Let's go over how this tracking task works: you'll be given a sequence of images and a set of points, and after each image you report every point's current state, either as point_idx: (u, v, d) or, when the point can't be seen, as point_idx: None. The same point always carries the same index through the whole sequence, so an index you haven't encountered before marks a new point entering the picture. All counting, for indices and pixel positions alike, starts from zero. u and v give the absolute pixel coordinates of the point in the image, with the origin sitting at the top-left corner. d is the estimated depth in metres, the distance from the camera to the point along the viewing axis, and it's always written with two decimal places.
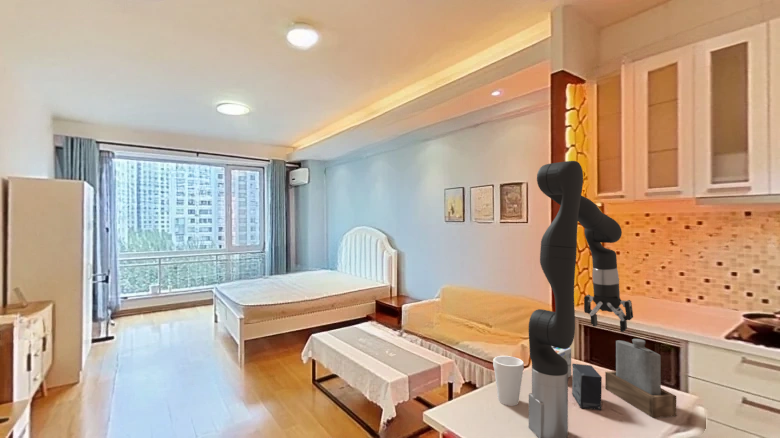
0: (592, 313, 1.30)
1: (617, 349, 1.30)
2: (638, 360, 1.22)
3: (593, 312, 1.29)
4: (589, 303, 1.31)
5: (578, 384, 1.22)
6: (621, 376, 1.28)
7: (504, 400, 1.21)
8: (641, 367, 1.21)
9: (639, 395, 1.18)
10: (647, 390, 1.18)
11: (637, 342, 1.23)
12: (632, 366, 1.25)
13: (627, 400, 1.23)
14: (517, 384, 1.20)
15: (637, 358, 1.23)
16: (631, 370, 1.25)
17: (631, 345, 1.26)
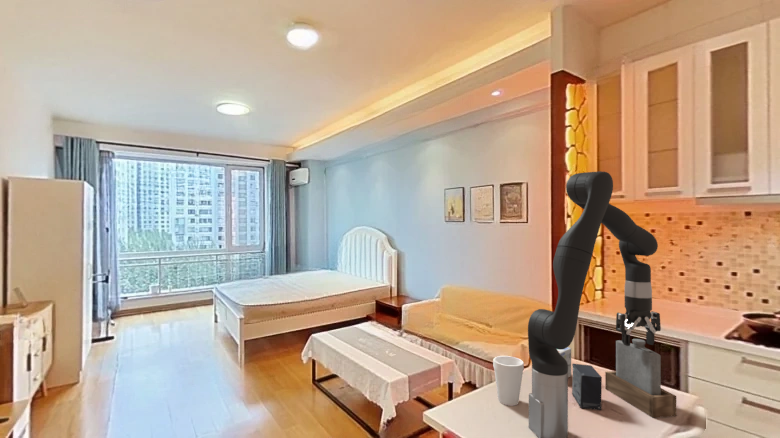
0: (629, 331, 1.22)
1: (617, 349, 1.30)
2: (638, 360, 1.22)
3: (629, 330, 1.22)
4: None
5: (578, 384, 1.22)
6: (621, 376, 1.28)
7: (504, 400, 1.21)
8: (641, 367, 1.21)
9: (639, 395, 1.18)
10: (647, 390, 1.18)
11: (637, 342, 1.23)
12: (632, 366, 1.25)
13: (627, 400, 1.23)
14: (517, 384, 1.20)
15: (637, 358, 1.23)
16: (631, 370, 1.25)
17: (631, 345, 1.26)
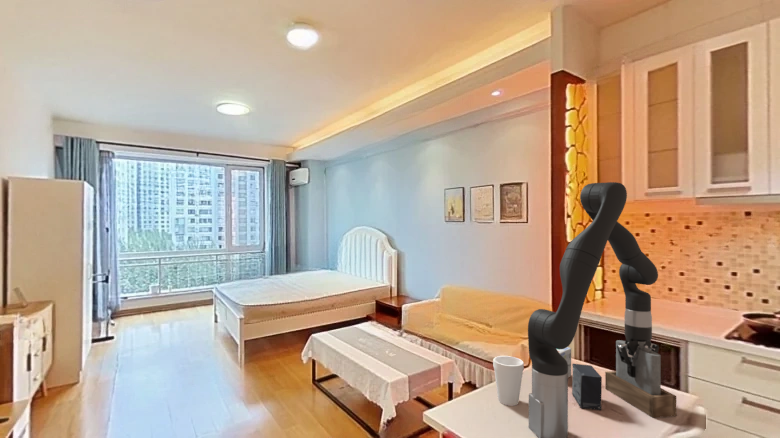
0: (634, 363, 1.23)
1: (617, 349, 1.30)
2: (638, 360, 1.22)
3: (635, 362, 1.23)
4: None
5: (578, 384, 1.22)
6: (621, 376, 1.29)
7: (504, 400, 1.21)
8: (641, 366, 1.21)
9: (639, 395, 1.18)
10: (647, 390, 1.19)
11: None
12: None
13: (627, 400, 1.23)
14: (517, 384, 1.20)
15: None
16: None
17: None
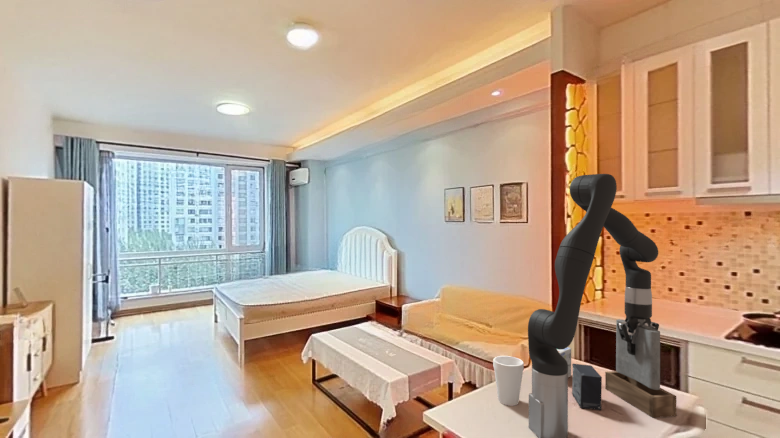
0: (633, 340, 1.23)
1: (617, 328, 1.30)
2: (638, 338, 1.22)
3: (635, 339, 1.23)
4: None
5: (578, 384, 1.22)
6: (621, 354, 1.29)
7: (504, 400, 1.21)
8: (640, 344, 1.21)
9: (639, 395, 1.18)
10: (646, 367, 1.19)
11: None
12: None
13: (627, 400, 1.23)
14: (517, 384, 1.20)
15: None
16: None
17: None
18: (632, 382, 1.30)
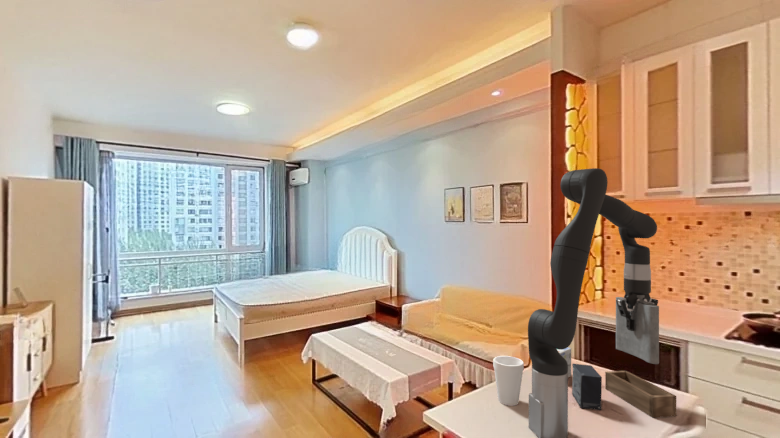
0: (633, 316, 1.23)
1: None
2: (637, 314, 1.23)
3: (634, 315, 1.23)
4: None
5: (578, 384, 1.22)
6: (620, 331, 1.29)
7: (504, 400, 1.21)
8: (639, 319, 1.22)
9: (639, 395, 1.18)
10: (645, 341, 1.19)
11: None
12: None
13: (627, 400, 1.23)
14: (517, 384, 1.20)
15: None
16: None
17: None
18: (632, 382, 1.30)
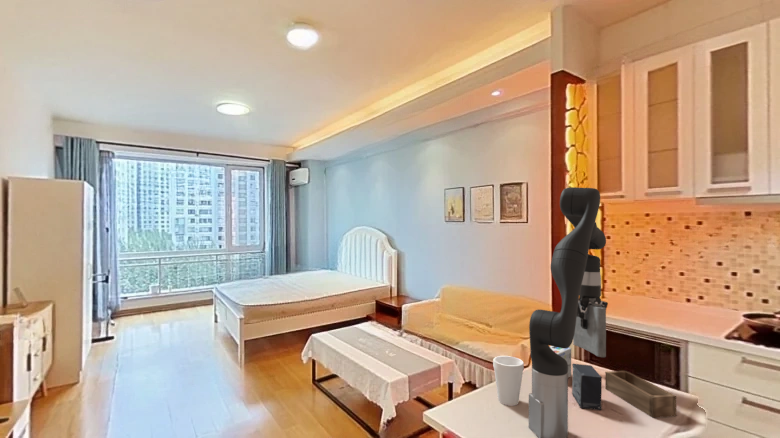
0: (585, 316, 1.43)
1: None
2: (589, 314, 1.43)
3: (586, 316, 1.43)
4: None
5: (578, 384, 1.22)
6: (577, 329, 1.49)
7: (504, 400, 1.21)
8: (591, 319, 1.42)
9: (639, 395, 1.18)
10: (595, 338, 1.39)
11: None
12: None
13: (627, 400, 1.23)
14: (517, 384, 1.20)
15: None
16: None
17: None
18: (632, 382, 1.30)
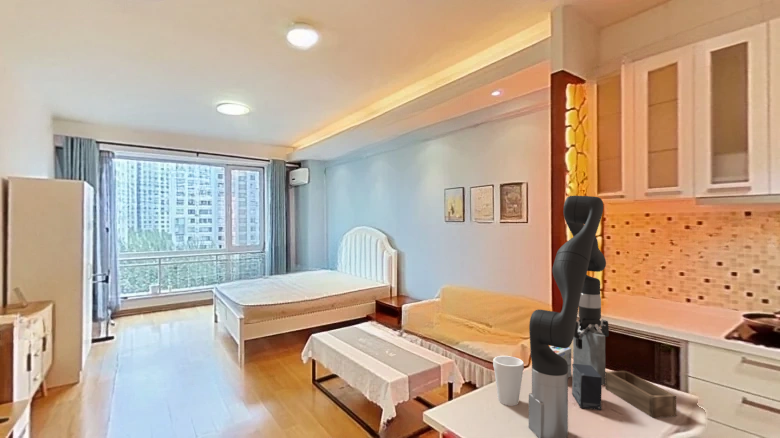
0: (581, 337, 1.43)
1: None
2: (589, 341, 1.43)
3: (582, 335, 1.43)
4: None
5: (578, 384, 1.22)
6: (576, 355, 1.49)
7: (504, 400, 1.21)
8: (590, 346, 1.42)
9: (639, 395, 1.18)
10: (594, 365, 1.39)
11: None
12: (584, 346, 1.45)
13: (627, 400, 1.23)
14: (517, 384, 1.20)
15: (587, 338, 1.43)
16: (583, 349, 1.46)
17: None
18: (632, 382, 1.30)
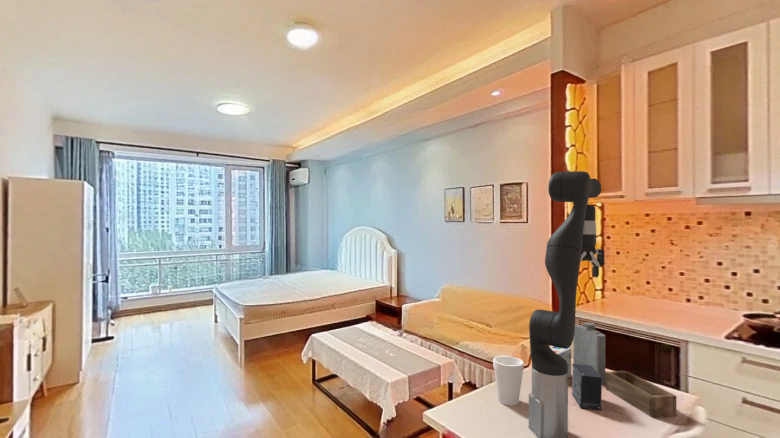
0: None
1: (574, 332, 1.51)
2: (589, 341, 1.43)
3: None
4: None
5: (578, 384, 1.22)
6: (577, 355, 1.49)
7: (504, 400, 1.21)
8: (590, 346, 1.42)
9: (639, 395, 1.18)
10: (594, 365, 1.39)
11: (588, 325, 1.44)
12: (584, 346, 1.45)
13: (627, 400, 1.23)
14: (517, 384, 1.20)
15: (587, 339, 1.43)
16: (583, 349, 1.46)
17: (584, 328, 1.47)
18: (632, 382, 1.30)
